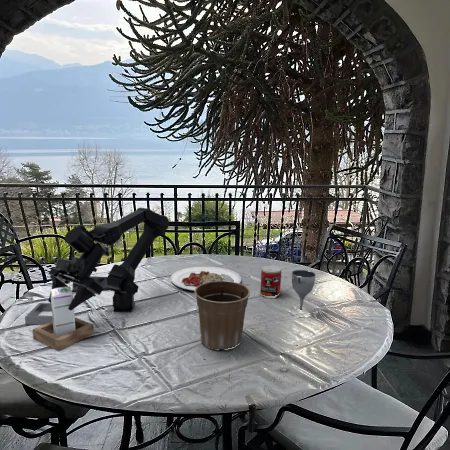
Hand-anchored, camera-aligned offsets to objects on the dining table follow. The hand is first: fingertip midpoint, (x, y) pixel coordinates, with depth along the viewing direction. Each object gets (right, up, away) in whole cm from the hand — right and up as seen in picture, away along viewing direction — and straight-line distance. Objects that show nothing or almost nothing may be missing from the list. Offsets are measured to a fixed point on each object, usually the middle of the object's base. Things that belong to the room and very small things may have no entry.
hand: (59, 305), depth 114 cm
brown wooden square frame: (0, -10, +3) cm, 10 cm away
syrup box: (0, -10, +3) cm, 10 cm away
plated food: (+40, -1, +52) cm, 66 cm away
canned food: (+66, -4, +39) cm, 77 cm away
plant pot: (+47, -11, +3) cm, 49 cm away
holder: (-10, -7, +15) cm, 19 cm away
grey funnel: (+75, -8, +23) cm, 79 cm away
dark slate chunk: (-2, -1, +45) cm, 45 cm away
